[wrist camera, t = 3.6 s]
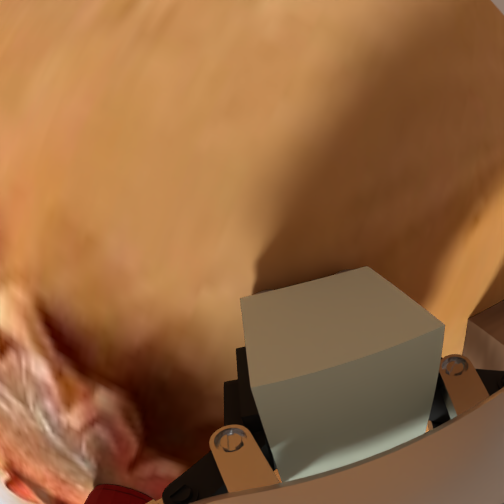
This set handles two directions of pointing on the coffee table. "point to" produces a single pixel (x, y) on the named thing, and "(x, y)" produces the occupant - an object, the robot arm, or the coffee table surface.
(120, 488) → the plastic cup
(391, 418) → the sage green cube
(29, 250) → the coffee table surface
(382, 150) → the coffee table surface
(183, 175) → the coffee table surface
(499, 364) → the grey tray
